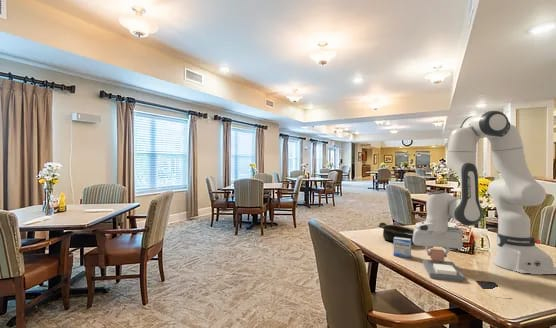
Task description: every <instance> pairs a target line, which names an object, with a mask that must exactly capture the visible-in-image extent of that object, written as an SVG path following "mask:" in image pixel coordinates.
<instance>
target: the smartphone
mask: <svg viewBox="0 0 556 328" xmlns="http://www.w3.org/2000/svg"><path fill="white" fill-rule="evenodd" d="M475 281H476V282H477V283H476V282H475V283H476V284H477V285H478V286H479V287H480V288H481V289H482V290H483V289H493V288H495V287H498V286H499V284H497V282H494V281H485V280H475Z"/></svg>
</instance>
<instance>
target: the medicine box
mask: <svg viewBox="0 0 556 328" xmlns="http://www.w3.org/2000/svg"><path fill="white" fill-rule="evenodd" d="M392 253H393V254H392V255H393V256H394V257H399V258H400V257H402V258H406V259H407V258H408V259H411V256H412V243H411V239H408V238H400V237H394V240H393V251H392Z"/></svg>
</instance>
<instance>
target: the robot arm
mask: <svg viewBox="0 0 556 328" xmlns="http://www.w3.org/2000/svg"><path fill="white" fill-rule="evenodd" d="M483 138H487V139H488V140H489V143H490V147H491V148H490V149H491V154H492V160H493V161H492V162H493V166H494V168H495V170H496V171H497V172H498V173H499V174H500V175H501V178H498V179H494V180H491V181H490V182H489V184H488V186H487V192H488V194H489V196H490V197H491V198H492V200H493V202H494V205H495V209H496V212H497V219H498V220H497V222H498V224H497V232H496V234H497V235H496V246H497V248H496V254H495V257H494V260H493V264H494V265H496V266H498V267H500V268H503V269H506V270H510V271H514V272H516V271H517V273H519V272H520V273H519V274H523V273H531V274H530V275H542V274H556V266H555V263H554V260H553V258H552V257H551V255H549V254H548V253H547V252H545V251H544V250H542V249H541V248H539V247H538V246H537V245H541V239H540V238H539V239H538V238H535V237H533V236H531V219H530V217H529V215H528V214H527V213H526V211H525V208H524V207H535V206H539V205H541V204H542V203H544V202H545V200H546V197H547V192H546V189H545V187H544V186H543V185H542V184H540V183H539V182H538V181H537V180H536V179H535V178H534V175H533V174H532V172H531V171H530V169H529V167H528V164H527V160H526V155H525V151H524V144H523V141H522V138H521V135H520V132H519V130H518V128H517V127H516V126H515V125H513V124H511V122H510V121H509V118H508V117H507V115H506V114H505V113H503V112H502V111H499V110H489V111H485V112H484V111H483V112H479V113H477V114H474V115H471V116H468V117H467V118H465V119H464V120H463V121H462V123H461V124H460V126H459V127H457V128H455V129H453V130H452V131H451V132H450V135H449V138H448V143H447V144H448V145H447V152H446V153H447V154H446V155H447V157H446V158H447V159H446V161H447V165H448V167H449V169H451V170H452V171H453V172H454V173H455V174H456V175H457V176H458V179H459V182H460V198H458V197H457V196H456V197H455V196H453V195H451V194H450V193H448V192H447V191H445V190H433V191H431V192H429V193H428V194H427V196H426V204H425V205H426V210H425V211H426V219H425V220H423V221H419V222H416V223H415V228H414V229H415V230H414V232H413V243H412V244H413V245H415V246H422V247H424V249H425V250H426V255H427V256H428V257H430V256H431V251H430V250H429V247H431V248H445V251H444V258H447V257H448V253H449V252H450V250H451V249H457V250H459V249H460V250H462V249H463V247H464V245H463V243H464V242H463V236H464V231H463V230H462V228H460V227H453V226H449V219H453V220H455V221H458V222H459V224H462V225H464V226H475V225H477V224H478V223H480V222H481V220H482V219H483V215H484V212H483V208H482V205H481V203H480V195H479V194H480V192H479V173H478V167H477V144H478V142H479V140H480V139H483Z"/></svg>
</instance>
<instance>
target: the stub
mask: <svg viewBox="0 0 556 328" xmlns="http://www.w3.org/2000/svg"><path fill="white" fill-rule="evenodd" d="M429 251H431V256H429V257H430V260H439V261H445V257H444V252H445V251H444V250H443V249H442V248H439V247H429Z"/></svg>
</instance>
